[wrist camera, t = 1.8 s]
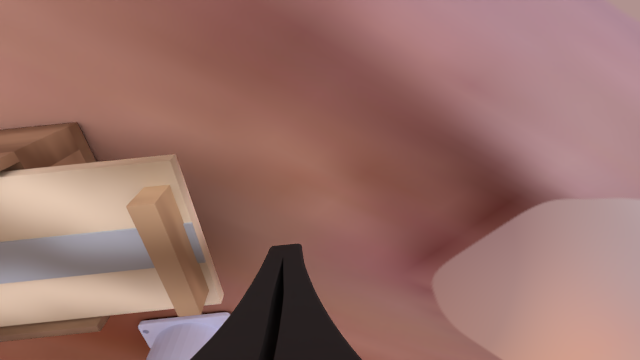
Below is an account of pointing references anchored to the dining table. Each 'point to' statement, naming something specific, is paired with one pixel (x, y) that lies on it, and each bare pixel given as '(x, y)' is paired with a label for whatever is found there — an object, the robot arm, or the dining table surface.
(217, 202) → the dining table surface
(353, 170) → the dining table surface
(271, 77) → the dining table surface
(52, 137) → the keepsake box
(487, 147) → the dining table surface
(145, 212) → the lid
